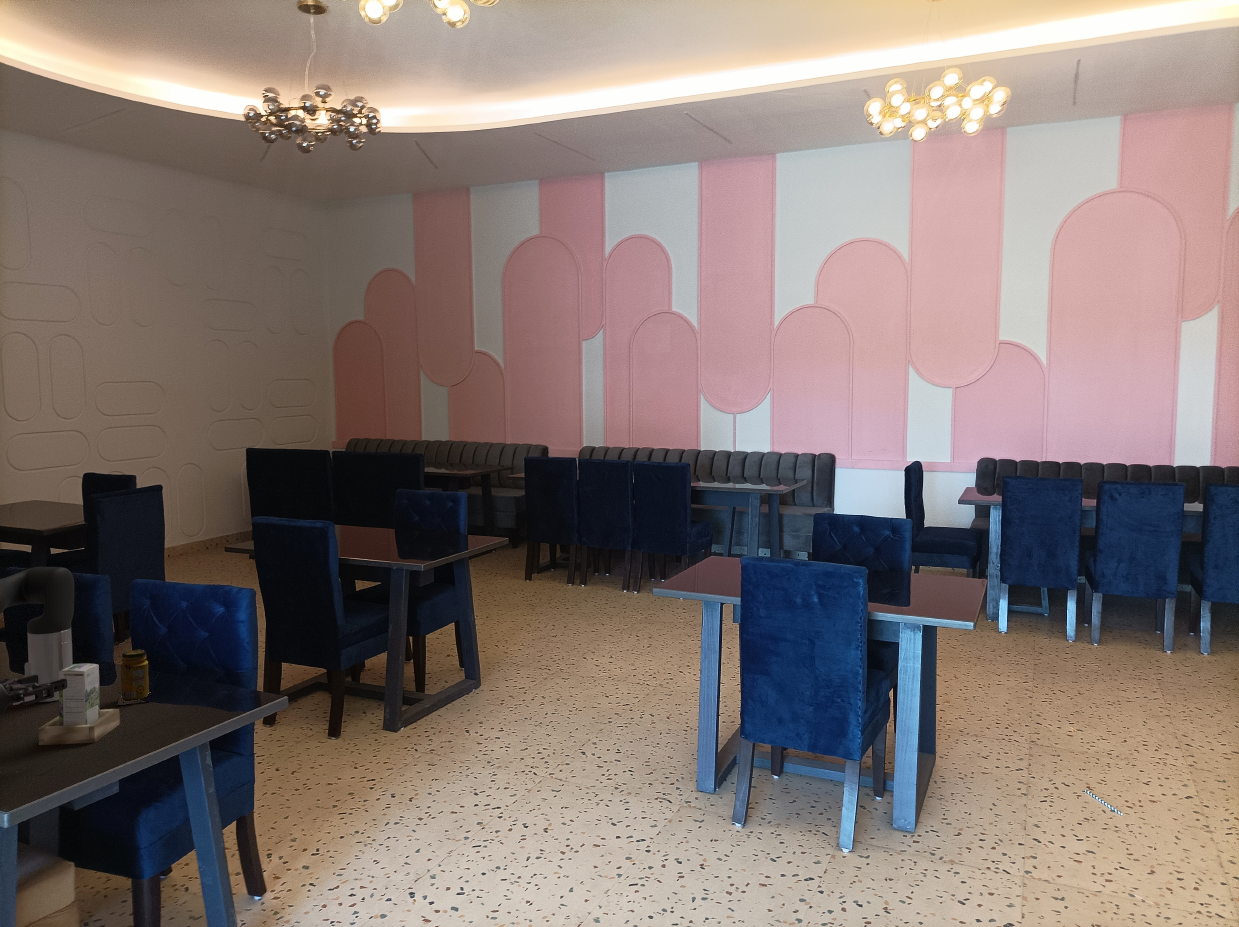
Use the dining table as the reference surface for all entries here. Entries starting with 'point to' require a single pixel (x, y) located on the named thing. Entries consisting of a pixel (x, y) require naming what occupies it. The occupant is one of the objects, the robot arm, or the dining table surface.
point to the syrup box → (79, 695)
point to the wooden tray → (79, 730)
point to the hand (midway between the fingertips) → (51, 681)
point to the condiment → (134, 675)
